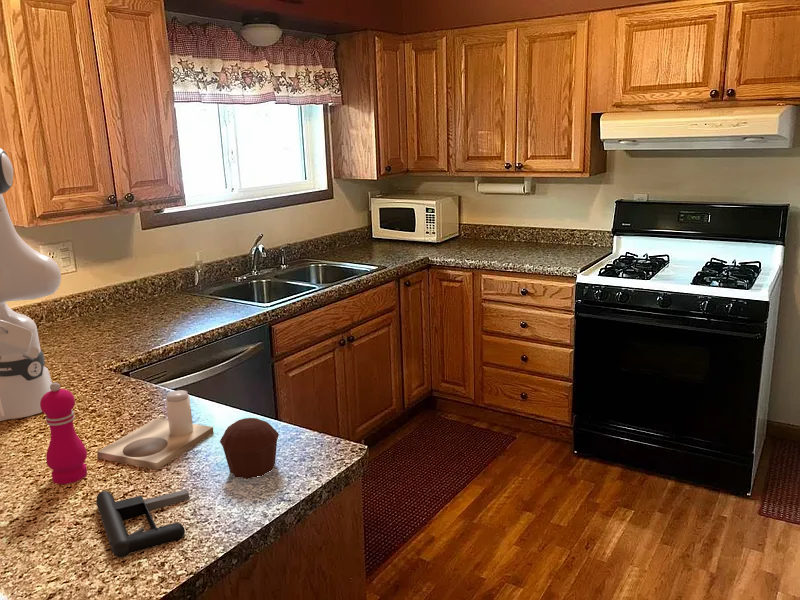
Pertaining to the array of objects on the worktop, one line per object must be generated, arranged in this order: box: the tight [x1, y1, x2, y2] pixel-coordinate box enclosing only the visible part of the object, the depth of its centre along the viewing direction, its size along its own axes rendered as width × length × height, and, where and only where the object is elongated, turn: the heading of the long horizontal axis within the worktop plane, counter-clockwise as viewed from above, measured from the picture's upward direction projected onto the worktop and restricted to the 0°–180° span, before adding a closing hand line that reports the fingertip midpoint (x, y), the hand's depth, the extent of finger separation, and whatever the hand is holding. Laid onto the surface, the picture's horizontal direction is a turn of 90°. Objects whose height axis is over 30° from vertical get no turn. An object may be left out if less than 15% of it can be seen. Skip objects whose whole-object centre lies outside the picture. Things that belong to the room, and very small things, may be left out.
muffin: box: [219, 417, 280, 480], centre depth 132 cm, size 12×11×10 cm
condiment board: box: [96, 417, 214, 471], centre depth 144 cm, size 16×18×2 cm
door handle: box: [90, 489, 190, 559], centre depth 116 cm, size 3×20×16 cm
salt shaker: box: [165, 389, 194, 437], centre depth 146 cm, size 5×5×9 cm
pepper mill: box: [40, 382, 88, 485], centre depth 130 cm, size 7×7×20 cm
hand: (16, 357), depth 118 cm, fingers open, 8 cm apart
